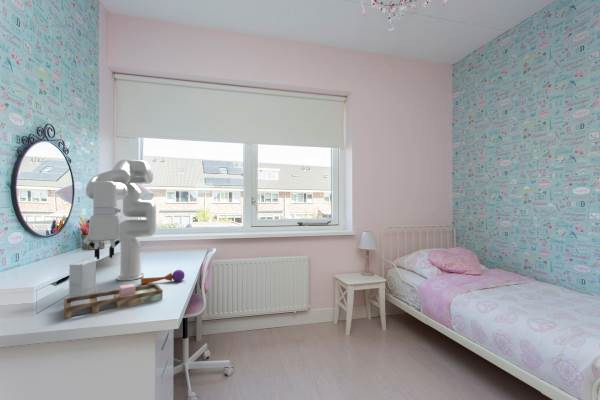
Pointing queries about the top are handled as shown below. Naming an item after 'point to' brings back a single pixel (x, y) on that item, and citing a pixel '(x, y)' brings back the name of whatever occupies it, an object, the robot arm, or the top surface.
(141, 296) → the box
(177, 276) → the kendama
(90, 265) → the skincare box
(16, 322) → the top surface
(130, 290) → the rose block
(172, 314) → the top surface
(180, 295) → the top surface
